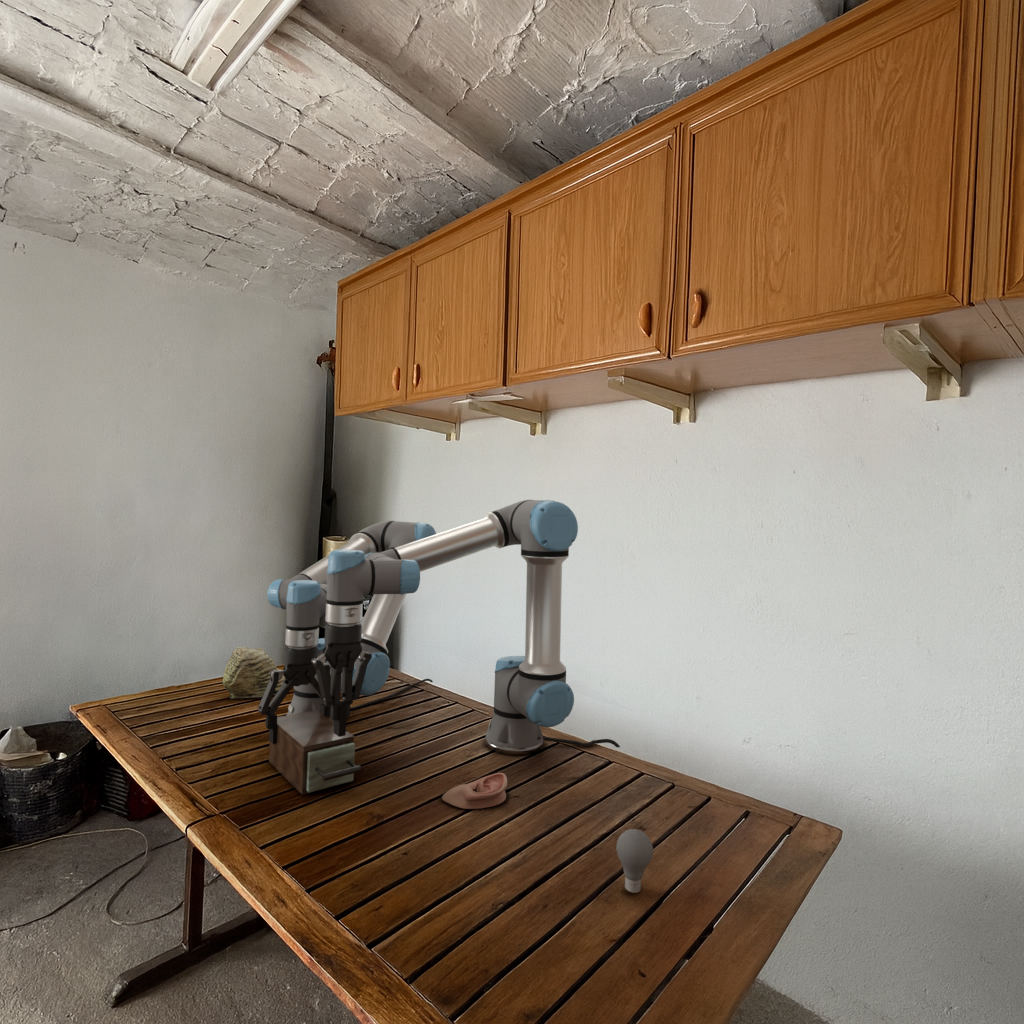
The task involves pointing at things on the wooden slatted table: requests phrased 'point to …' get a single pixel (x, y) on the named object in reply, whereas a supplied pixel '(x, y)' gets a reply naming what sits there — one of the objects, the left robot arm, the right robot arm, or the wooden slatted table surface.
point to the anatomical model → (478, 792)
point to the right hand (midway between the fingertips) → (339, 733)
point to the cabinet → (302, 744)
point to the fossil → (249, 673)
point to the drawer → (331, 766)
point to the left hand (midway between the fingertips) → (298, 736)
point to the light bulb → (634, 857)
